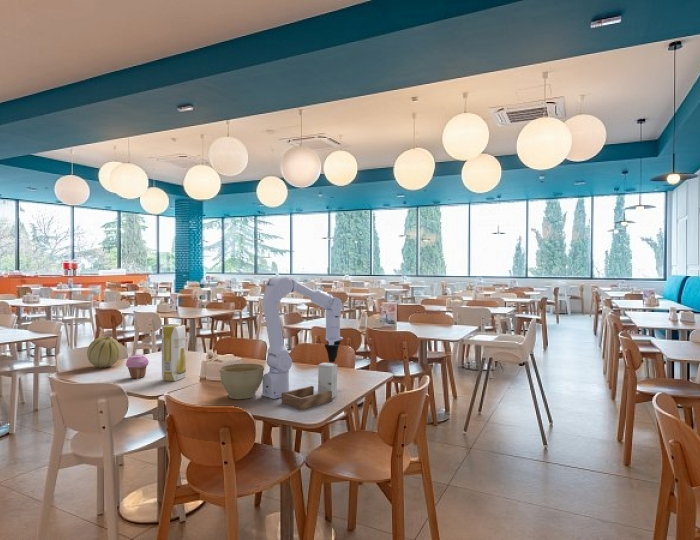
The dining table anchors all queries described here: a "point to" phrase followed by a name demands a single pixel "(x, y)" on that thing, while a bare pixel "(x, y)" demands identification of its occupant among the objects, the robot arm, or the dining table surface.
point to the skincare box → (327, 378)
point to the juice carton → (173, 352)
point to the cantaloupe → (103, 352)
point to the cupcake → (137, 365)
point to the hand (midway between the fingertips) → (332, 360)
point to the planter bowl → (241, 379)
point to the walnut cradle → (305, 398)
